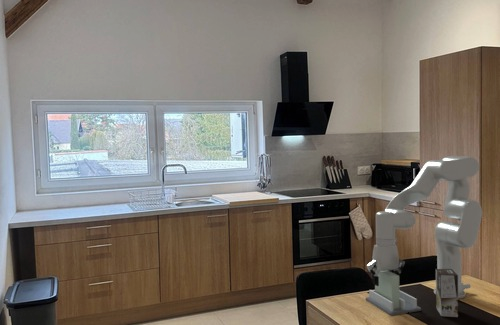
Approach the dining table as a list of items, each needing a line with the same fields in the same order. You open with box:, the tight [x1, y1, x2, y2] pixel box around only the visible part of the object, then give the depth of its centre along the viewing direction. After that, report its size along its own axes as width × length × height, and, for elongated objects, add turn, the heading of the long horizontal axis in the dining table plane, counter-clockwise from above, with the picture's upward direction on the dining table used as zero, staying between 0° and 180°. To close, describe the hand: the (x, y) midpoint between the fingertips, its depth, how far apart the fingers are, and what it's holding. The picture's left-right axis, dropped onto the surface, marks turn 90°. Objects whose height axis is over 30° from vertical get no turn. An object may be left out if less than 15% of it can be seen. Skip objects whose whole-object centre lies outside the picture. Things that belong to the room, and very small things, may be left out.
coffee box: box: [435, 268, 459, 318], centre depth 172 cm, size 9×6×16 cm
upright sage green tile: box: [374, 270, 400, 309], centre depth 181 cm, size 4×12×13 cm, turn 16°
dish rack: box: [365, 289, 422, 316], centre depth 182 cm, size 14×18×4 cm
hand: (386, 283), depth 181 cm, fingers open, 9 cm apart
